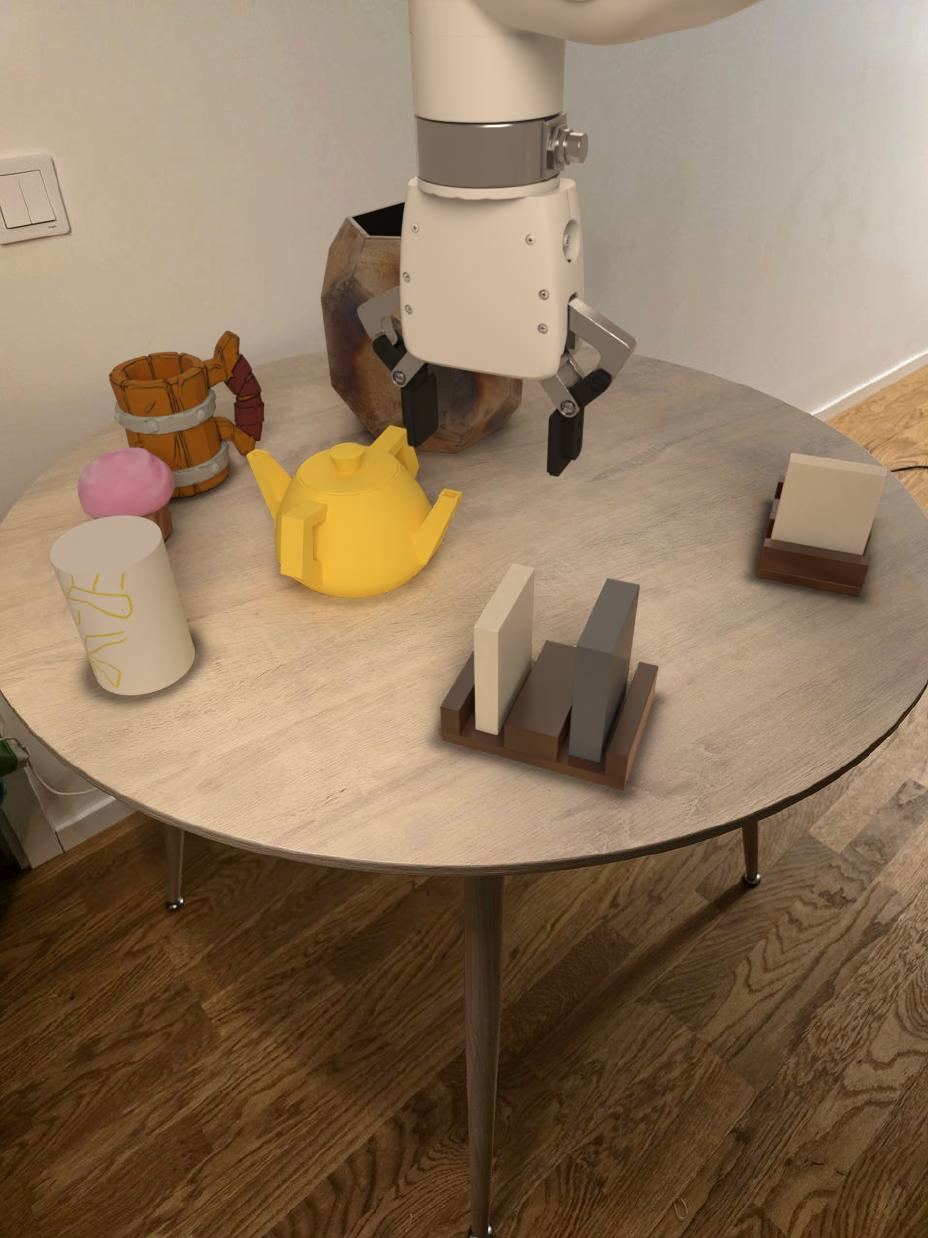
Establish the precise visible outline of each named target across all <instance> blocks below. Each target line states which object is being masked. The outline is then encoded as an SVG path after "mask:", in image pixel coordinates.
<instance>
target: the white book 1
mask: <svg viewBox="0 0 928 1238" xmlns="http://www.w3.org/2000/svg"><path fill="white" fill-rule="evenodd" d="M535 570H536V568H535V567H533V566H528V565H523V564H518V563H514V562H512V563H511V564H510V566H509V567H508V569H507V570H506V572H505V574H504V576H503V577H502V578H501V580H500V582H499V584H498V586H497V587H496V589H495V590H494V592H493V594H492V595H491V597H490V598H489V600H488V602H487V604H486V605H485V607H484V608H483V610H482V611H481V613H480V615H479V616H478V618H477V620H476V621H475V623H474V625H473V651H474V674H475V725H476V730H480V731H484V732H487V733H491V734H495V735H498V733H499V731H500V730H501V728H502V726H503V724H504V722H505V720H506V718H507V716H508V714H509V712H510V710H511V708H512V706H513V704H514V702H515V700H516V698H517V696H518V694H519V692H520V690H521V688H522V686H523V684H524V682H525V680H526V678H527V676H528V674H529V672H530V670H531V660H532V659H533V658H532V656H533V655H532V654H533V630H534V629H533V628H534V627H533V625H534V600H535V598H534V597H535Z"/></svg>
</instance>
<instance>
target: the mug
mask: <svg viewBox="0 0 928 1238" xmlns="http://www.w3.org/2000/svg"><path fill="white" fill-rule="evenodd" d="M240 339H241V338H240V337H239V335H238V334H236V333H235V332H232V331H230V330H225V331H224V333H223V334H221V336H220V338H218V340H217V343H216V344H215V347H214V351H213V357H212V358H208V359H205V360H202V359H201V358H199V357H198V356H196V355H192V354H189V353H186V352H180V353H178V352H177V351H162V352H161V351H160V352H153V353H149V354H148V355H142V356H138V357H134V358H130V359H128V360H125V361H123V362H121V363H119V364H117V365H116V366H114V367H113V369H112V371H111V372H109V373H108V379H109V380H108V381H109V383H110V386H111V389H112V391H113V395H114V397H115V399H116V401H115V405H114V410H115V412H114V413H113V417H114V420H115V422H116V423H118V424H120V425H121V426H122V427H123V428H124V430H125V435H126V439H127V443H128V448H131V447H133V448H142V449H145V450H147V451H148V452H150V453H151V454H153V455H154V456H156V457H158V458H159V459H160V460H162V461H163V462H165V463H166V464H167V465H168V466H169V468H170V470H171V472H172V474H173V476H174V480H175V488H174V491H173V494H172V496H171V498H170V499H178V498H189V497H194V496H196V495H197V494H203V493H205V492H207V491H209V490H210V489H215V488H217V487H218V486H219V485H221V484H222V483H223V482H224V481H225V480H226V479H227V478H228V477H229V474H230V473H231V466H230V463H229V461H230V453H229V450H230V444H229V442H232V444H233V445H234V447H235V449H236V450H237V452H238V453H239V455H240V456H242V457H243V456H244V457H247V454H248V453H250V452H252V451H253V450H255V449H256V443H257V442H261V439H262V433H263V423H264V422H265V402H264V401H263V399H262V395H261V393H262V388H261V385H260V382H259V381H258V380H257V378H256V375H255V374H254V373H253V368H252V366H251V364H250V363H249V361H248V360H247V358H246V357H245V356H244V354H242V353H240V344H241V342H240V341H241V340H240ZM222 382H223V383H224V385H225V386H226V388H227V389H228V390H229V391H230V392H231V393H232V394H233V395H234V396H235V402H234V403H233V413H234V414H233V421H232V420H231V419H229V418H227V417H226V416H221V415H217V416H214V414H215V412H216V410H217V403H216V400H217V393H216V391H215V390H213V389H212V388H213V387H215V386H217V385H218V384H220V383H222Z"/></svg>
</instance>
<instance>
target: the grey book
mask: <svg viewBox="0 0 928 1238" xmlns="http://www.w3.org/2000/svg"><path fill="white" fill-rule="evenodd" d="M640 588H641V585H640V584H638V583H633V582H629V581H624V580H619V579H614V578H610V577H607V578H606V580H605V581H604V584H603V586H602V588H601V591H600V593H599V595H598V597H597V600H596V602H595V603H594V606H593V608H592V610H591V613H590V615H589V616H588V619H587V620H586V624H585V626H584V627H583V630H582V632H581V635H580V637H579V639H578V640H577V643H576V645H575V647H576V659H575V672H574V684H573V697H572V710H571V723H570V736H569V749H568V754H569V755H572V756H576V757H579V758H583V759H587V760H590V761H594V762H598V763H600V762H601V759H602V757H603V754H604V751H605V748H606V746H607V743H608V740H609V737H610V735H611V732H612V729H613V726H614V724H615V721H616V718H617V715H618V713H619V710H620V707H621V704H622V702H623V699H624V696H625V693H626V689H627V683H628V681H629V673H630V666H631V665H630V664H631V657H632V650H633V643H634V636H635V635H634V634H635V628H636V627H635V626H636V618H637V613H638V604H639V596H640V590H641V589H640Z"/></svg>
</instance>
